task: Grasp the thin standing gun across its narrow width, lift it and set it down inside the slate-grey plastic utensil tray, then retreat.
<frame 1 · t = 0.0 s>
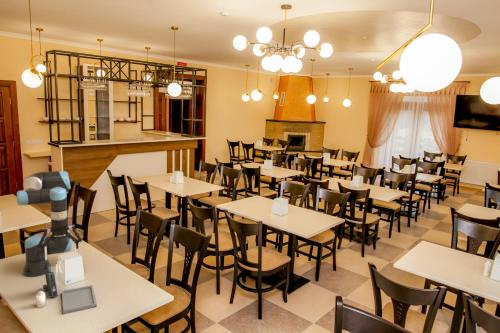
hand: (61, 256, 184), 28 cm above the table, fingers open, 13 cm apart
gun: (50, 294, 199), on the table
tray: (78, 300, 194), on the table
shaker: (41, 306, 187), on the table
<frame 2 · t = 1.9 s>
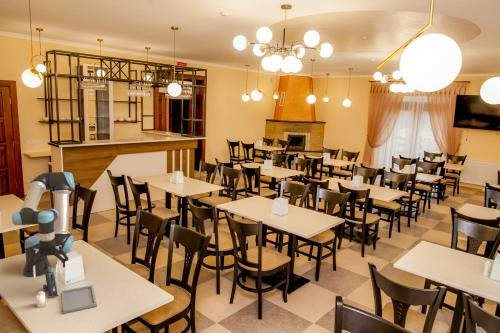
hand: (48, 275, 197), 12 cm above the table, fingers open, 13 cm apart
nothing on the table moved.
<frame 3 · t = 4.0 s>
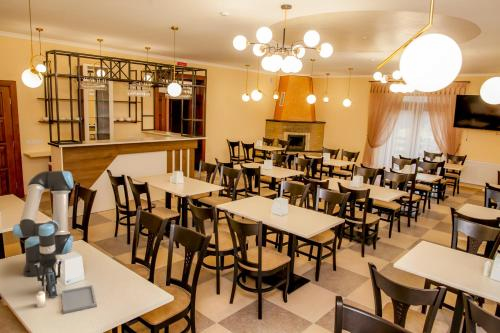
hand: (49, 290, 199), 2 cm above the table, fingers closed on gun, 4 cm apart
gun: (49, 294, 199), on the table, touching gripper
everything else where it was.
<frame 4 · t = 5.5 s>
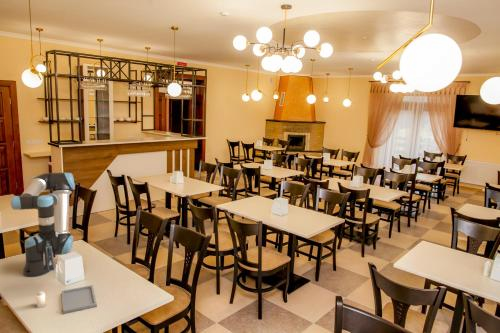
hand: (48, 263, 196), 19 cm above the table, fingers closed on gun, 3 cm apart
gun: (48, 268, 196), point 16 cm above the table, touching gripper
everything else where it was.
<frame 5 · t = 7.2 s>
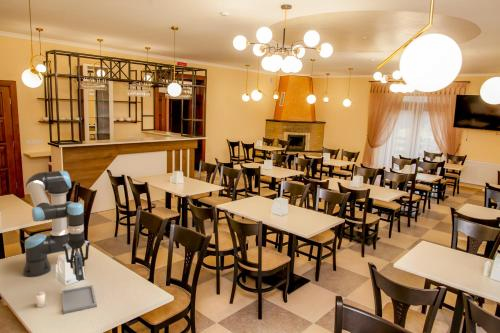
hand: (77, 272, 191), 17 cm above the table, fingers closed on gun, 3 cm apart
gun: (77, 277, 192), point 14 cm above the table, touching gripper
everything else where it was.
when the fingers open (4 cm above the table, at t = 9.9 s): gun moves 1 cm, resting on tray.
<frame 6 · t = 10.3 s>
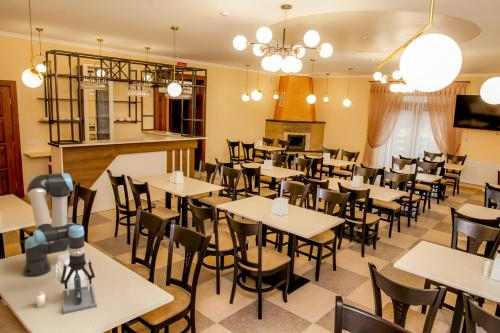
hand: (78, 291, 193), 5 cm above the table, fingers open, 9 cm apart
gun: (77, 298, 195), resting on tray
everything else where it was.
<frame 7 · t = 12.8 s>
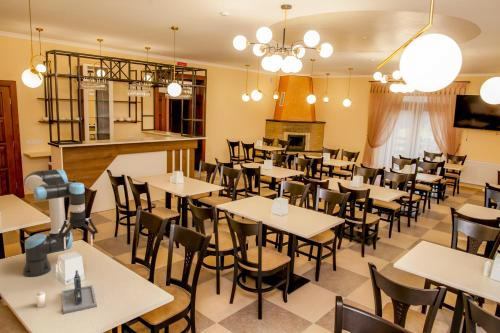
hand: (78, 246, 198), 28 cm above the table, fingers open, 13 cm apart
nothing on the table moved.
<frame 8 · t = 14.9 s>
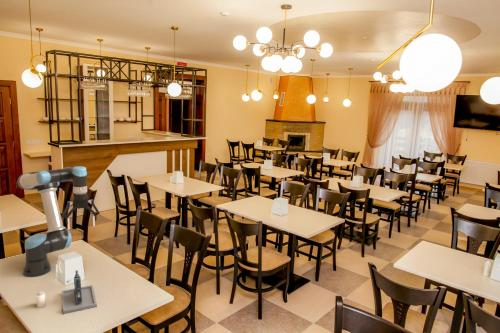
hand: (81, 227, 209), 35 cm above the table, fingers open, 13 cm apart
nothing on the table moved.
at the end: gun inside the target area on the tray (1.0 cm from its centre), point 0.4 cm above the tray's base; the gripper is holding nothing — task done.
